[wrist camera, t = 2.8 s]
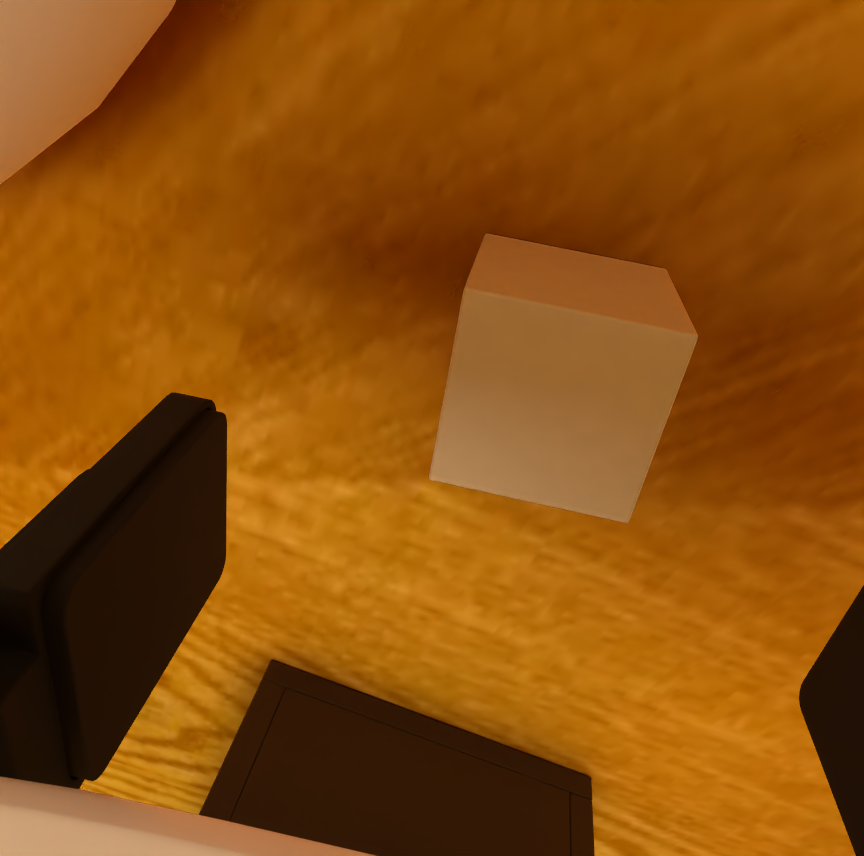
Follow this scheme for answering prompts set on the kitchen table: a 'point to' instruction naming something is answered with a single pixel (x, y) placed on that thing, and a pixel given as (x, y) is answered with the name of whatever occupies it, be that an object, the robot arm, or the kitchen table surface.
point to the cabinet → (390, 779)
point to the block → (560, 377)
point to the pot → (63, 65)
